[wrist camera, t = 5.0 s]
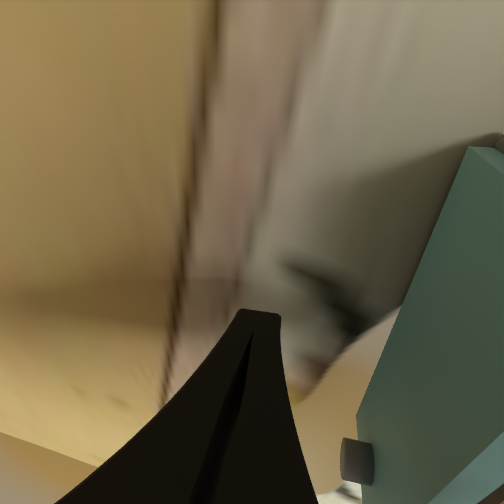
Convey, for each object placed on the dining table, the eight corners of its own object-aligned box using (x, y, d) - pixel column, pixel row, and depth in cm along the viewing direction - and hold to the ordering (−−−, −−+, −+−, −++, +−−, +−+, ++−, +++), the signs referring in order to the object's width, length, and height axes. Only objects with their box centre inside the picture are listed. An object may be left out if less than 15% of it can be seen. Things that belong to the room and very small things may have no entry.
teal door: (525, 133, 7) (815, 281, 3) (378, 419, 15) (397, 569, 11) (428, 128, 7) (561, 252, 3) (335, 410, 15) (337, 553, 11)
